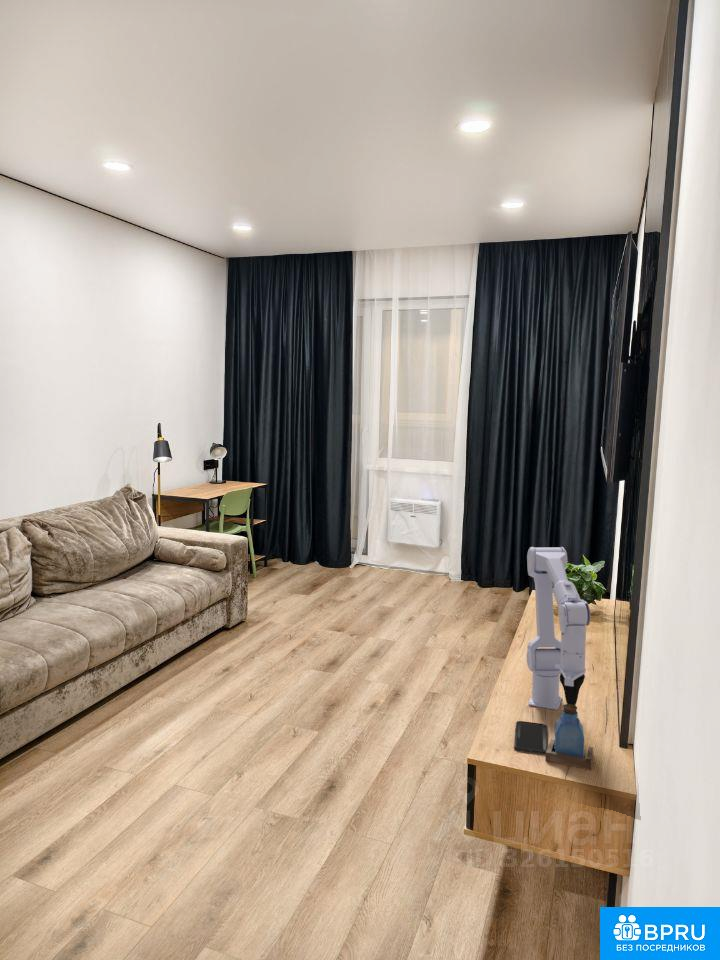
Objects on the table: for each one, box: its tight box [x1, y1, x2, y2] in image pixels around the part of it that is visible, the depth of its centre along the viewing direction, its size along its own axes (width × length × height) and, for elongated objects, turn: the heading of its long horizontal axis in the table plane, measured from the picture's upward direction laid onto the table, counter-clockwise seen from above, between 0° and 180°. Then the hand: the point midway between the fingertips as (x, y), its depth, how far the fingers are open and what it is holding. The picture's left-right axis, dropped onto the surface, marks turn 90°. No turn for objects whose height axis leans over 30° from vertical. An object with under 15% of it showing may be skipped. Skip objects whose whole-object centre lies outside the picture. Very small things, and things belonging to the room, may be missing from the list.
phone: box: [513, 720, 548, 755], centre depth 162 cm, size 8×1×15 cm
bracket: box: [544, 738, 594, 771], centre depth 153 cm, size 7×10×2 cm
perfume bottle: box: [554, 703, 585, 758], centre depth 153 cm, size 6×6×12 cm
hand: (571, 703), depth 161 cm, fingers closed
